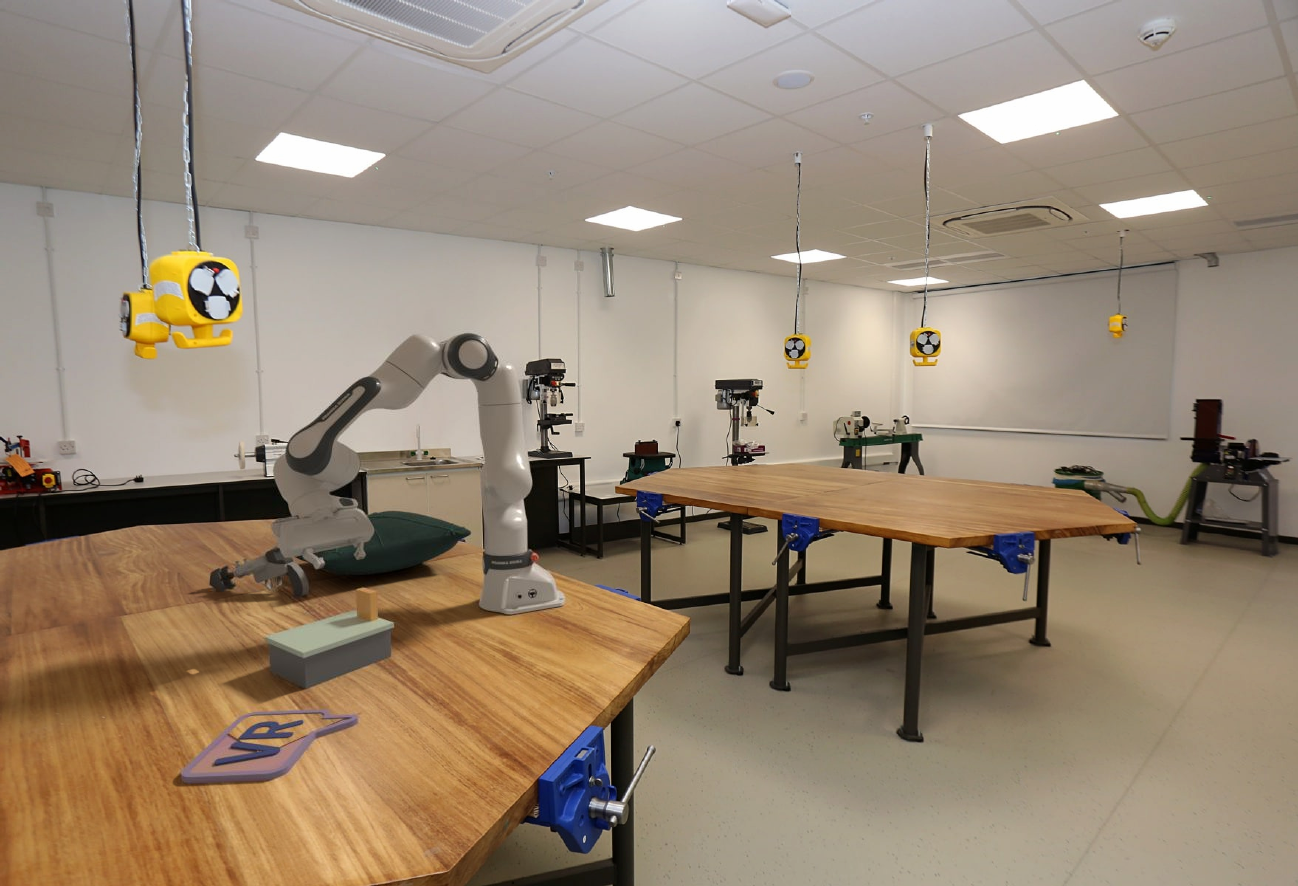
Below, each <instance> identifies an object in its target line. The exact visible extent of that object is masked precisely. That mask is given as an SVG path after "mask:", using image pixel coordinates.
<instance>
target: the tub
mask: <svg viewBox="0 0 1298 886" xmlns="http://www.w3.org/2000/svg"><path fill="white" fill-rule="evenodd" d="M391 630H392V628H391V629H388V630H385V631H382V632H379V633H376V634H373V635H370V636H367V637H364V638H361V639H358V640H355V641H353V642H350V643H347V644H344V645H341V646H338V647H335V648H332V649H329V650H326V651H323V652H320V653H317V654H314V655H311V656H309V657H306V658H302V657H300V656H297V655H295V654H293V653H290V652H288V651H286V650H283V649H281V648H279V647H276V646H274V645H272V644H269V643H268V651H269V652H268V653H269V673H271V674H273V675H275V676H276V677H277V676H278V677H279V678H282V679H283V680H285V681H288V682H290V683H292V684H294V685H296V686H298V687H300V688H302V689H304V690H308V689H311V688H312V687H316V686H318V685H320V684H324V683H326V682H329V681H331V680H334V679H336V678H339V677H342V676H344V675H347V674H349V673H351V672H355V671H358V670H360V669H363V668H365V667H368V666H370V665H373V664H376V663H378V662H382V661H383V660H386V659H388V658H392V642H391V641H392V638H391V637H392V635H391V634H392V633H391Z"/></svg>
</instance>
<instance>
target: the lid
mask: <svg viewBox="0 0 1298 886" xmlns="http://www.w3.org/2000/svg"><path fill="white" fill-rule="evenodd" d="M355 593H356V609H353V610H350V611H347V612H343V613H340V614H336V615H333V616H329V617H327V618H326V617H325V618H323V619H319V620H317V621H312V622H309V623H306V624H302V625H300V626H296V627H292V628H289V629H285V630H283V631H279V632H276V633H273V634H269V635H266V636H264V642H265V643H267V644H268V645H269V644H272V645H274V646H276V647H279V648H281V649H283V650H286V651H288V652H290V653H293V654H295V655H297V656H300V657H302V658H306V657H309V656H311V655H314V654H317V653H320V652H323V651H326V650H329V649H332V648H335V647H338V646H341V645H344V644H347V643H350V642H353V641H355V640H358V639H361V638H364V637H367V636H370V635H373V634H376V633H379V632H382V631H385V630H388V629H391V630H392V629H394V628H395V622H393V621H390V620H387V619H384V618H381V617H379V616H378V615H379V614H378V613H379V612H378V610H379V609H378V591H377V590H373V589H369V588H366V587H361V588H357V589H355Z"/></svg>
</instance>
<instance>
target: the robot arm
mask: <svg viewBox="0 0 1298 886" xmlns="http://www.w3.org/2000/svg"><path fill="white" fill-rule="evenodd" d="M439 374H441V375H444V376H446V377H448V378H451V379H455V380H470V381H472V383H473V384H474V386H475V390H476V393H477V405H478V406H477V409H478V421H479V422H478V423H479V436H480V437H479V438H480V440H481V445H482V451H483V455H484V456H483V457H484V463H483V464H482V466H481V468H480V472H479V480H480V495H481V496H480V497H481V505H482V506H481V507H482V514H483V515H482V516H483V532H484V533H483V535H484V537H483V538H484V540H483V541H484V544H483V545H484V550H483V552H482V561H481V562H482V563H481V564H482V565H481V566H482V572H483V573H482V574H483V581H482V582H483V583H482V589H481V595H480V599H479V602H478V606H479V608H481V609H483V610H486V611H489V612H496V613H501V614H504V615H516V614H522V613H527V612H533V611H534V612H535V611H539V610H540V611H541V610H545V609H551V608H557V607H562V606H564V605H565V603H566V596H565V594H564V593H563V592H562V591H561V590H559V589H558V588H557V583H556V580H555V579H554V576H553V575H552V574H551V573H550V572H549V571H547V570H545V569H544V568H543V567H541V566H540V565H538V564H537V563H538V561H539V558H540V557H539V555H538V553H536V552H535V551H533V550H532V549H529V548H528V519H527V515H526V509H525V501H524V499H525V498H526V497H528V495H529V494H530V493H531V490H532V487H533V479H532V478H533V477H532V473H531V465H530V460H529V454H528V453H529V452H528V448H527V443H526V438H525V432H524V417H523V416H524V415H523V404H522V392H521V385H520V383H519V382H520V381H519V378H518V377H519V376H518V373H517V370H516V368H515V367H514V365H513V364H512V363H510V362H507V361H504V360H499V359H498V357H497V355H496V353H495V352H494V350H493V349H492V347H491V346H490V344H489V343H488V341H487V340H486V339H485V338H483V337H482V336H481V335H478V334H476V333H471V332H464V333H460V334H457V335H453V336H452V337H450V338H449V339H446V340H444V341H441V342H438V341H436V340H435V339H434V338H432V337H431V336H428V335H426V334H421V333H415V334H412V335H411V336H409V337H408V338H406V339H405V340H404V341H403V342H402V343H401V344H399V345H398V347H396V348H395V349H393V351H392V353H391V354H389V356H387V358H386V359H385V360H384V361H383V363H381V365H380V366H379V367H378V368H377V369H376V370H374V371H373V372H372V373H371V374H369V375H367V376H364V377H362V378H359V379H358V380H357V381H355V382H353V383H352V384H351V385H350V386H349V387H348V388H347V389H346V390H344V391H343V392H342V393H341V394H340V395H338V397H337V398H336V399H335V400H334V401H333V402H331V403H330V405H329V406H328V407H327V408H326V409H325V410H323V411H322V412H321V413H320V414H319V415H318V416H317V417H316V418H315V419H314V420H313V421H311V422H310V423H309V424H307V425H305V426H304V427H302V428H301V429H299V430H298V431H296V432H295V433H294V434H293V435H292V436H291V437H290V438H289V440H288V442H287V444H286V447H285V451H284V453H283V454H280V456H279V457H278V458H277V459H276V460H275V462H274V464H273V469H272V470H273V471H272V474H273V479H274V481H275V484H276V486H277V489H278V490H279V493H280V495H281V496H282V498H283V500H285V501H286V502H287V504H288V509H289V510H288V511H289V512H290V514H291V516H288V517H282V518H280V517H279V518H276V519H275V521H272V523H271V525H270V529H271V531H272V533H273V534H274V536H275V537H276V541H277V546H279V548H280V551H281V553H282V555H283V556H284V557H285V558H295V557H296V556H301V555H302V556H303V558H304V559H305V560H307V561H309V562H310V563H309V564H311V563H313V564H312V565H313V568H314V569H315V570H319V569H321V568H323V566H325V562H324V561H323V558H322V557H321V558H318V557H317V556H315V555H314V554H313V553H315V552H320V551H325V550H330V549H334V548H339V547H344V546H349V545H354V547H355V548H356V547H357V550H356V552H355V553H354V556H355V557H356V559H357V560H359V559H363V558H364V557H365V555H366V554H365V552H364V550H363V546H364V542H368V541H369V540H370V539H371V537H372V536H373V534H374V527H373V525H372V523H371V522H370V520H369V518H368V517H367V516H366V515H367V514H366V513H365V512H364V510H362V509H360V508H358V505H359V503H358V501H357V500H356V499H355V498H349V497H340V496H336V495H332V494H331V493H332V492H335V491H337V490H339V489H341V488H344V487H345V486H347V485H348V484H350V483H351V482H353V481H354V480H355V479H356V478H357V476H358V475H359V472H360V470H361V458H360V456H359V454H358V453H357V452H356V451H355V450H353V449H352V448H350V447H348V445H345V444H344V443H341V442H340V441H338V439H339V438H340V437H341V435H343V434H344V433H345V431H347V430H348V429H349V428H350V426H351V425H353V424H354V422H356V421H357V420H358V419H359V418H360V417H361V416H362V415H363V414H365V413H366V412H370V411H372V410H376V409H379V410H380V409H384V410H392V411H394V410H396V411H397V410H402V409H405V408H408V407H410V405H412V404H413V403H414V402H415V401H417V399H418V398H419V397H420V396H421V394H422V393H423V392H424V390H425V389H426V388H427V387H428V385H429V384H430V382H431V381H432V380H433V379H435V377H437V376H438V375H439ZM536 562H537V563H536Z"/></svg>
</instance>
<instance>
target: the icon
mask: <svg viewBox="0 0 1298 886" xmlns="http://www.w3.org/2000/svg"><path fill="white" fill-rule="evenodd" d="M301 714H302V715H304V714H305V715H306V714H323V716H322V717H321V720H332V719H333V720H334V719H335V720H336V719H339V720H337V721H335V722H333V723H331V724H329V725H327V726H324V727H322V728H317V729H316V730H312V731H310V732H308V734H305V735H304V736H302V737H299V738H297V739H295V740H292V741H290V742H288V743H285V744H283V745H281V746H273V745H267V744H259V743H253V742H245V741H241V740H262V739H267V740H268V739H289V738H291V737H293V735H294V732H293V731H287V732H286V731H282V732H279V731H281V730H286V729H289V728H294V727H297V726H301V725H303V724H304V723H305V722H304V720H303V719H300V720H295V721H291V722H287V723H282V724H280V723H279V722H278V721H270V720H269V721H262V722H257V723H254V724H253V725H251V726H250V727H248V728H246V730H245V731H244V732H242V733H241V735H240V736H239V737H238V738H236V737H235V736H233V735H232V734H230V732H231V731H233V730H234V729H235V728H236V727H237V726H238V725H239V724H240V723H241V722H243V720H245V719H247V718H248V717H252V716H271V715H272V716H274V715H275V716H277V715H301ZM358 724H359V715H358V714H355V713H354V714H353V713H350V714H331V712H330V711H329V710H327V709H321V708H320V709H299V710H296V709H295V710H292V709H291V710H272V711H271V710H268V711H252V712H249V713H246V714H243V715H241V716H239V717H238V718H237V719H235V721H233V723H230V725H229V726H228V727H227V728H225V730H224V731H222V732H221V734H219V735H218V736H217V737H216V738H215V739H214V740H213V741H212V742H211V743H210V744H208V745H207V746H206V747H205V748H204V749H203V750H202V751H201V752H199V754H198V755H196V757H194V758H193V759H192V760H191V761H190V762H189V763H188V764H187V765H185V767H183V768H182V769H181V771H180V780H181V781H182V782H183V783H184V784H206V783H207V784H209V783H211V784H213V783H230V782H233V783H234V782H257V781H260V782H261V781H272V780H274V779H275V780H276V779H278V778H280V777H283V776H284V775H287V774H288V773H289V772H290V771H291V769H292V768H293V767H294V766H295V765H296V764H297V762H298V761H299V760H300V759H301V757H302V756H303V755H304V754H305V752H306V751H307V750H308V749H309V748H310V746H311V744H313V742H314V741H315V740H316V739H318V738H321V737H325V736H327V735H330V734H335V733H337V732H340V731H343V730H346V729H348V728H349V729H350V728H351V727H354V726H357V725H358ZM266 727H267V728H269V729H268V730H267V731H266V732H263V733H262V732H258V733H257V732H256V733H254V732H255V731H256V730H258V729H260V728H266ZM276 731H278V732H276Z"/></svg>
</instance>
